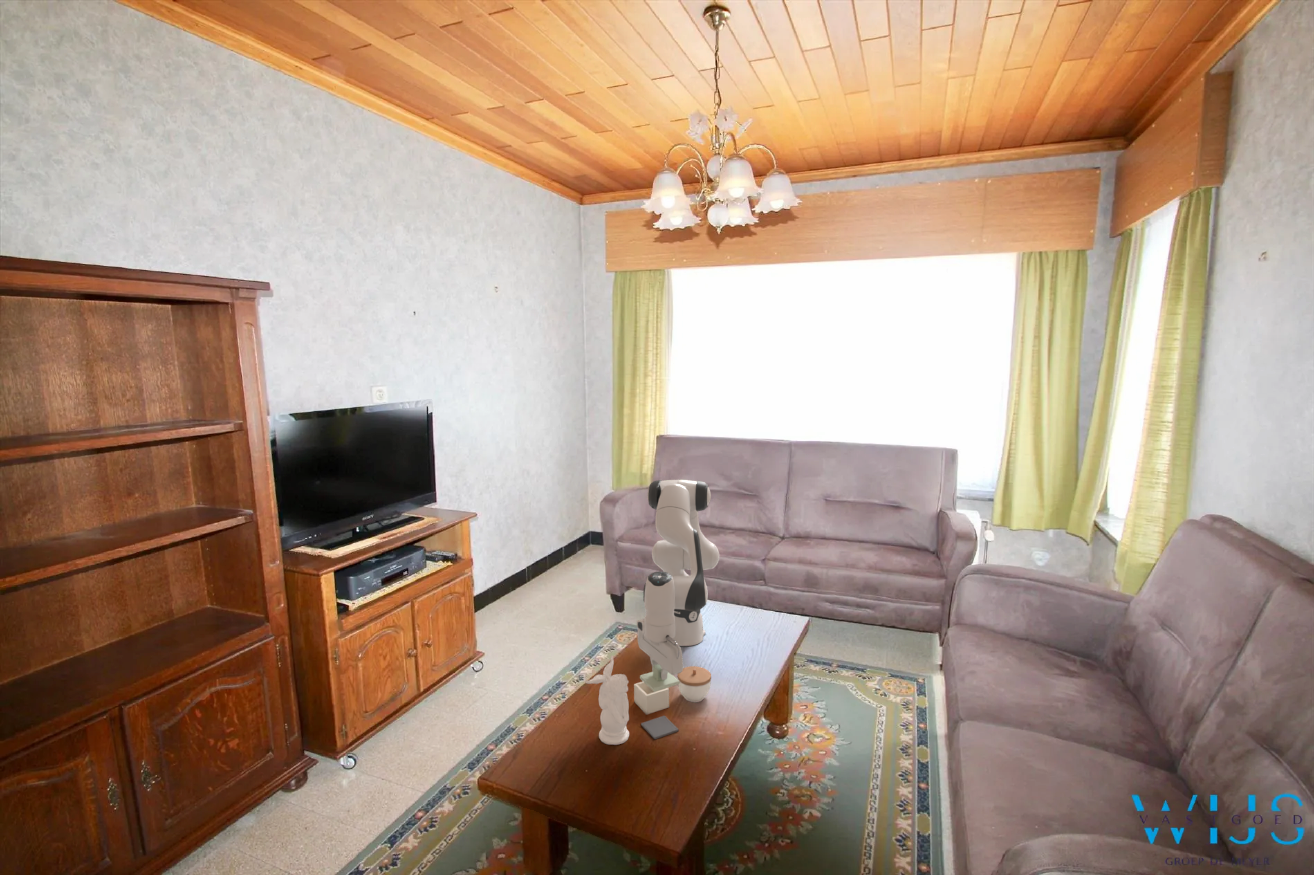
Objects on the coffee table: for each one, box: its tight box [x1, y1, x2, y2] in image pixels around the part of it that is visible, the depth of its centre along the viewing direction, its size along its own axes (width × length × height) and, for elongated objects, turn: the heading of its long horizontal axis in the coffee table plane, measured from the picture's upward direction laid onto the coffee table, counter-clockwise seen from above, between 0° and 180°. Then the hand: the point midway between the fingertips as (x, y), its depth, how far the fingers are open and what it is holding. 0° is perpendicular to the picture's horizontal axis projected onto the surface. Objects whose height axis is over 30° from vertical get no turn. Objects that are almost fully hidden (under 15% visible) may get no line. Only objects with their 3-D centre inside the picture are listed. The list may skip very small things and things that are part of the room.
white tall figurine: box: [584, 655, 630, 746], centre depth 174 cm, size 12×12×22 cm
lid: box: [639, 664, 680, 692], centre depth 177 cm, size 8×8×4 cm
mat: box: [640, 715, 679, 740], centre depth 179 cm, size 8×8×1 cm
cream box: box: [633, 681, 670, 715], centre depth 191 cm, size 8×8×6 cm
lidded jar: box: [677, 665, 712, 703], centre depth 195 cm, size 11×11×9 cm
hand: (659, 675), depth 177 cm, fingers closed on lid, 3 cm apart
